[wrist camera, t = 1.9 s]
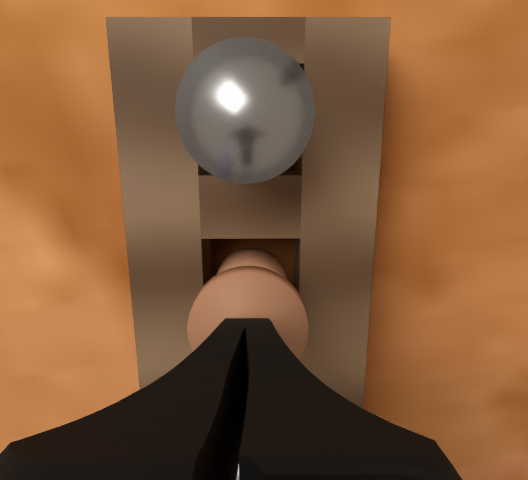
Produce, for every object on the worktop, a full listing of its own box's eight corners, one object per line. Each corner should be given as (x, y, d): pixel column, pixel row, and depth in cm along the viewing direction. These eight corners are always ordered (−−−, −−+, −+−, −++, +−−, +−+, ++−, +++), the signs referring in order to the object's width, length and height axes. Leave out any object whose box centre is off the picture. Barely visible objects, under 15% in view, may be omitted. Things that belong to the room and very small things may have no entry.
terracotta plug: (295, 322, 17) (306, 384, 13) (208, 323, 17) (190, 384, 12) (297, 238, 16) (310, 273, 12) (205, 238, 16) (184, 274, 12)
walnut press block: (344, 434, 21) (357, 481, 18) (164, 435, 21) (148, 482, 18) (367, 39, 16) (390, 17, 13) (133, 39, 16) (105, 17, 13)
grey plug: (298, 172, 15) (312, 183, 11) (202, 172, 15) (179, 183, 11) (300, 68, 14) (317, 36, 10) (198, 68, 14) (170, 36, 10)
